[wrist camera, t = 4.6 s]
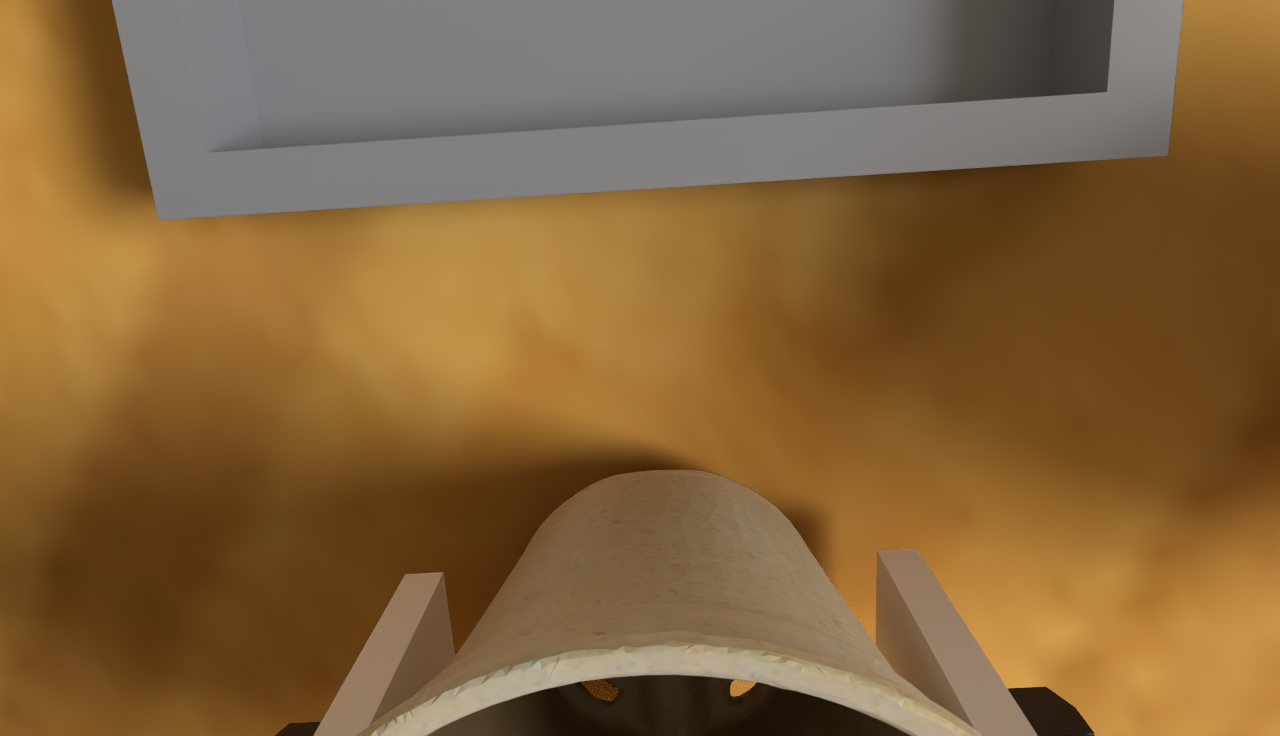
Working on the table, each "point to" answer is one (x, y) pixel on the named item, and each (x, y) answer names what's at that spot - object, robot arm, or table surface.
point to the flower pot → (668, 630)
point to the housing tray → (624, 94)
